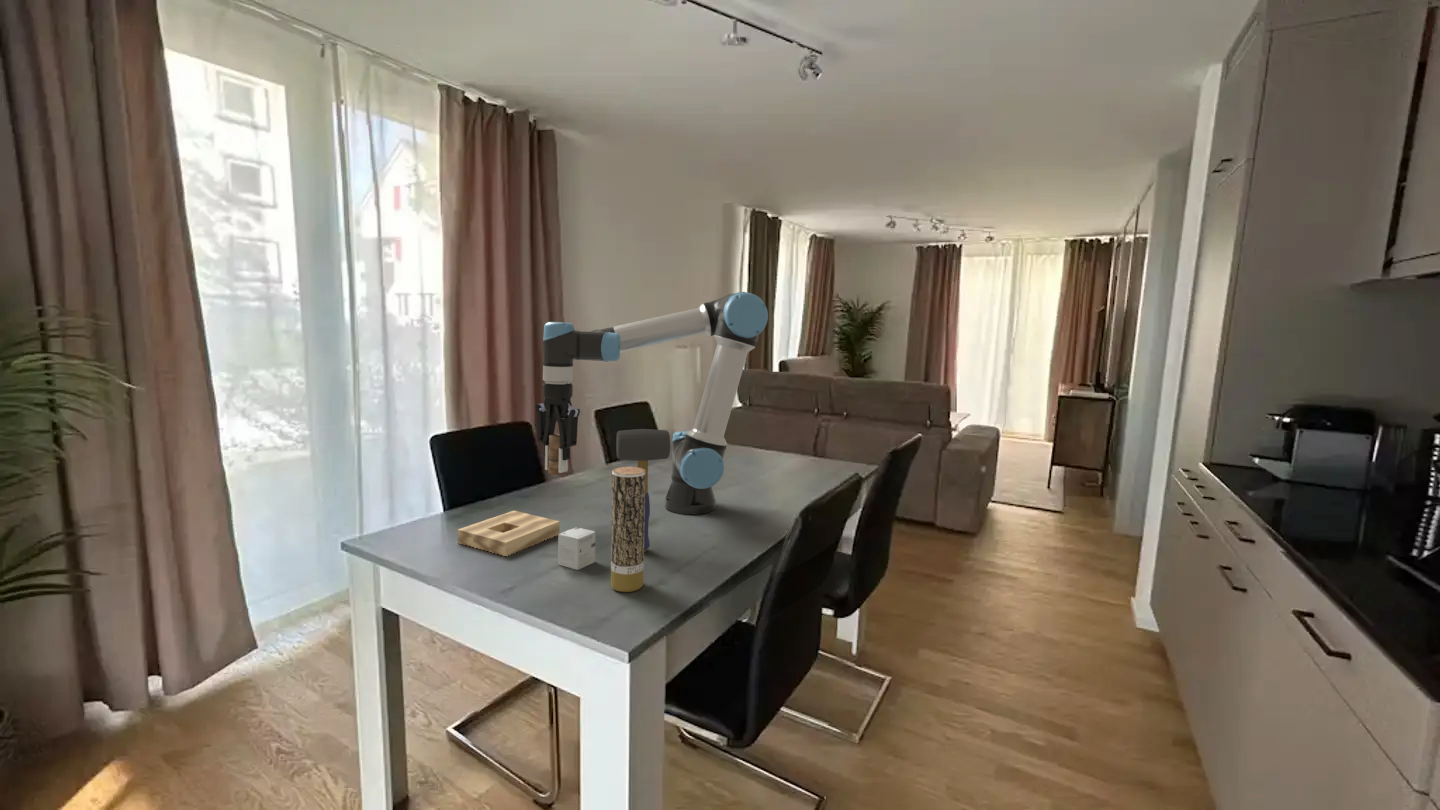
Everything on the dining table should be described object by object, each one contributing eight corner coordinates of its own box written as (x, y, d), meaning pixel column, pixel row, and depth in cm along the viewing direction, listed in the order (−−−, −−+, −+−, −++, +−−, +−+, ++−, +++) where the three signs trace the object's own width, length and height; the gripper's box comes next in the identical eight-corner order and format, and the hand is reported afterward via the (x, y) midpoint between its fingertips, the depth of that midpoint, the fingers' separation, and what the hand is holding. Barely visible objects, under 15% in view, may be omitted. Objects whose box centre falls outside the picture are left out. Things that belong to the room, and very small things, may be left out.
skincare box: (577, 570, 138) (578, 539, 137) (557, 564, 141) (557, 533, 140) (595, 562, 143) (596, 531, 142) (575, 556, 146) (575, 526, 145)
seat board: (559, 534, 160) (559, 521, 160) (505, 557, 144) (505, 542, 144) (513, 523, 167) (513, 510, 167) (457, 543, 152) (457, 529, 151)
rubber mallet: (616, 558, 146) (618, 432, 142) (613, 546, 153) (615, 426, 149) (669, 555, 149) (672, 431, 145) (664, 544, 156) (666, 426, 152)
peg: (567, 472, 165) (568, 435, 164) (556, 475, 162) (557, 437, 160) (556, 470, 167) (556, 433, 166) (545, 472, 164) (545, 435, 162)
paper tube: (644, 580, 134) (646, 467, 131) (641, 594, 128) (644, 475, 124) (613, 579, 134) (614, 466, 131) (608, 593, 127) (609, 474, 124)
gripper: (593, 384, 160) (590, 472, 164) (543, 378, 168) (542, 462, 172) (573, 386, 154) (571, 478, 157) (522, 380, 162) (522, 467, 165)
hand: (556, 470), depth 164 cm, fingers closed on peg, 4 cm apart
